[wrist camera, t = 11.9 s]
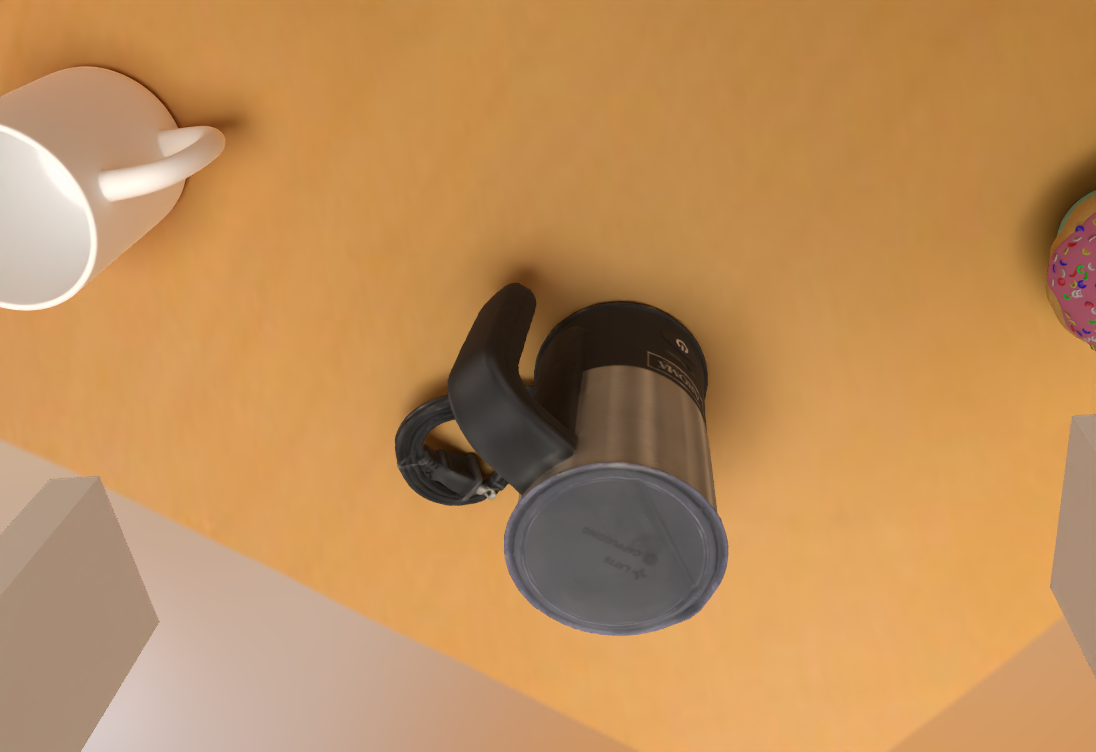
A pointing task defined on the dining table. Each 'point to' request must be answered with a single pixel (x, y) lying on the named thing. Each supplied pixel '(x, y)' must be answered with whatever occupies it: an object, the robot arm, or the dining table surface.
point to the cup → (85, 178)
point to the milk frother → (585, 461)
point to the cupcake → (1075, 270)
